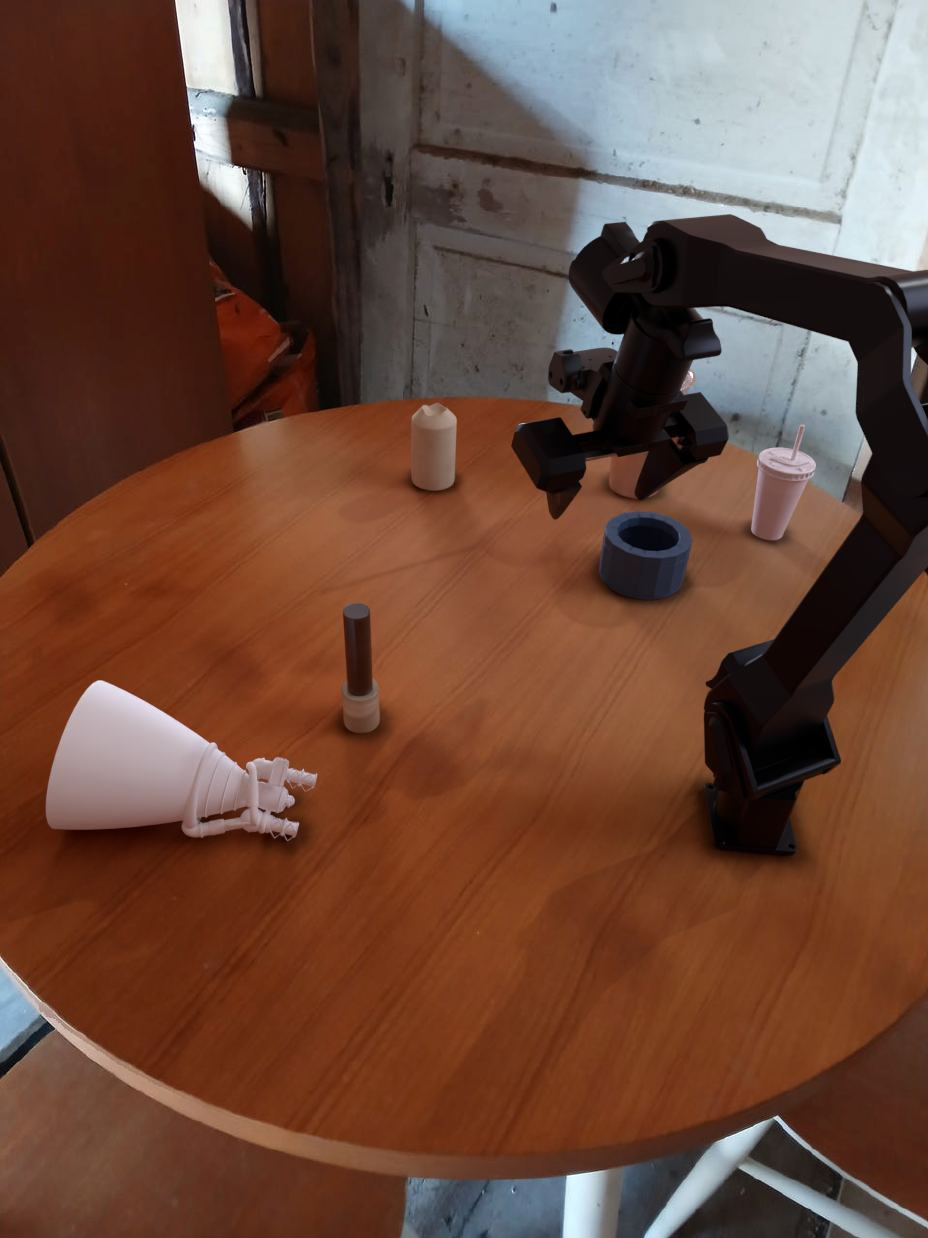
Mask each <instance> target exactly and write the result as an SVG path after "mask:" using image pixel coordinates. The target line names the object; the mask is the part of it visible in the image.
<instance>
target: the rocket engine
mask: <svg viewBox="0 0 928 1238" xmlns="http://www.w3.org/2000/svg"><path fill="white" fill-rule="evenodd" d="M289 765H290V761H289V760H288V759H287V758H283V757H279V756H277V757H276V756H275V758H273V760H268V759H266V758H265V757H262V758H261V757H259V758H255V759H254V760H252V761H248V762H247V763H246V765H245V767H246V769H247V770H248V772H247V770H245V769H242V768H241V767H240V766H239V765H238V762H237V761H233V760H232V759H231V758H230V757H229V756H227V755H226V752H225V751H221V750H220V749H219V748H218V744H217V743H216V742H214V741H213V742H209V741H208V740H206V739H205V738H203V737H202V736H201V735H199V734H198V733H196V732H195V731H193V730H192V729H190V728H189V727H188V726H186V725H185V724H183V723H182V722H180V721H178V720H177V719H175V718H173V716H171V715H169V714H167V713H165V711H162V710H160V709H159V708H157V707H155V706H154V705H152V704H151V703H149V702H147V701H146V700H143V699H141V698H140V697H138V696H136V695H134V694H132V693H130V692H128V691H127V690H124V689H122V688H120V687H119V686H116V685H114V684H112V683H109V682H107V681H105V680H103V679H102V680H101V679H100V680H96V681H93V682H92V683H91V684H90V685H89V686H88V687H87V688H86V689H85V691H84V692H83V694H82V695H81V696H80V698H79V700H78V701H77V703H76V704H75V706H74V707H73V710H72V712H71V714H70V716H69V718H68V720H67V722H66V724H65V727H64V730H63V732H62V734H61V737H60V740H59V742H58V746H57V748H56V751H55V754H54V758H53V762H52V765H51V769H50V773H49V778H48V782H47V788H46V789H47V790H46V795H45V796H46V797H45V818H46V821H47V824H48V826H49V827H50V828H51V829H52V830H67V831H68V830H69V831H74V830H75V831H83V830H84V831H88V830H92V831H93V830H111V829H113V830H115V829H125V828H137V827H147V826H154V825H163V824H169V823H175V822H181V821H182V822H181V830H182V832H183V834H185V835H186V836H188V837H191V838H201V839H203V838H204V837H207V836H218V835H222V834H225V833H226V832H229V831H233V830H239V829H243V830H244V831H246V832H247V833H255V832H258V833H259V834H264V833H265V834H269V833H270V834H271V836H272V838H273V839H276V838H277V837H278V836H280V837H284V839H285V840H286V842H289V841H291V839H295V838H296V837H297V834H298V830H299V826H300V823H299V821H297V822H296V821H291V820H288V817H285V819H281V818H278V817H275V816H274V815H273V814H272V812H274V813H276V814H279V813H282V812H283V811H284V810H285V809H286V807H287V809H289V808H290V807H292V806H293V805H295V802H296V800H295V797H294V796H293V795H289V790H288V789H287V788H286V786H284V785H285V781H286V782H287V783H288V784H289V786H290V787H291V789H292V790H293V789H295V788H296V787H297V786H298V788H300V787H301V789H302V790H303V791H304V793H306V792H308V791H310V790H311V789H312V790H313V789H315V787H316V782H317V779H318V773H317V772H316V773H310V772H307V771H305V768H302V770H298V769H296V768H294V767H291V768H289ZM260 779H263V780H267V782H264V781H259V780H260ZM291 782H292V783H295V784H296V785H294V786H292V784H291ZM303 785H305V786H309V787H310V788H308V789H306V790H305V788H304V786H303ZM244 807H245V808H247V809H245V810H243V811H242V813H241V814H240V817H234V818H228V819H224V818H219V819H213V820H209V821H207V822H203V821H202V818H205V819H207V818H208V817H209V816H214V815H218V814H219V815H223V814H224V813H226V812H230V811H234V812H235V811H236V810H239V809H242V808H244ZM262 810H263V811H262ZM201 821H202V822H201ZM273 832H274V833H275V832H276V833H279V834H278V835H277V834H276V836H274V833H273ZM286 835H288V836H291V837H290V838H289V839H288V838H287V837H286Z"/></svg>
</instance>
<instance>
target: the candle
mask: <svg viewBox="0 0 928 1238" xmlns="http://www.w3.org/2000/svg"><path fill="white" fill-rule="evenodd" d="M457 424H458V421H457V417H456V415H455V414H454V413H453V412H452V411H451V410H449V408H448V407H447V406H443V405H442V403H440V402H435V403H433V404H431V405H428V404H423V405H422V406H420V408H418V410H417V411H416V412H414V414H412V416H411V482H412V484H413V485H415V487H417V488H419V489H421V490H425V491H432V492H435V491H436V492H437V491H443V490H446V489H449V488H450V487H452V486H453V485H454V483H455V480H456V455H457V454H456V452H457V451H456V450H457V427H458V426H457Z"/></svg>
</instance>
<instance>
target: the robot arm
mask: <svg viewBox="0 0 928 1238" xmlns="http://www.w3.org/2000/svg"><path fill="white" fill-rule="evenodd" d="M568 268H569V269H568V274H567V275H568V276H567V277H568V282H569V285H570V287H571V289H572V290H573V292H575V294H576V295H577V296H578V298H579V300H580V301H581V302H582V304H584V306H585V307H586V309H587V310H588V311H589V312H590V314H591V315H592V317H593V318H594V319H595V321H596V322H597V323H598V324H599V326H600V327H601V328H602V330H603V331H605V332H606V333H608V334H610V335H615V336H616V335H618V336H619V335H623V336H622V339H621V341H620V344H619V347H618V350H616V349H614V348H611V347H595V348H589V349H583V350H576V351H574V349H572V348H568V349H562V350H561V349H560V350H555V351H553V354H552V356H551V359H550V362H549V364H548V370H547V371H548V372H547V373H548V374H547V381H548V384H549V386H550V387H551V388H553V389H555V390H556V391H557V392H559V393H560V394H566V393H567V394H568V393H571V394H572V395H573V396H575V397H576V398H578V399H579V400H581V401H582V404H581V406H580V408H579V410H580V412H581V414H583V416H584V417H585V419H586V420H589V419H591V420H592V421H593V423H592V431H591V430H590V431H585V432H581V433H575V434H573V433H572V431H570V429H569V427H568V426H567V424H566V423H565V421H564V419H563V418H562V417H561V416H558V417H552V418H551V417H550V418H546V419H540V420H535V421H530V422H524V423H518V424H517V426H516V428H515V431H514V433H513V435H512V436H513V437H512V441H511V444H510V447H511V449H512V450H513V452H514V454H515V456H516V458H517V459H518V460H519V462H520V463H521V465H522V467H523V468H524V470H525V472H526V473H527V475H528V477H529V479H530V480H531V482H532V484H533V485H534V487H535V488H536V489H537V490H540V491H543V492H544V493H545V495H546V501H547V507H548V513H549V515H550V516H551V518H552V519H553V520H554V521H557V520H558V519H559V518H561V516H562V515H564V513H565V512H566V510H567V509H568V507H569V506H570V505H571V503H572V502H573V500H574V499H575V497H576V496H577V495H578V493H579V492H580V490H581V489H582V488H583V485H582V484H581V482H580V481H581V480H583V478H584V477H585V474H586V471H587V462H590V461H596V460H600V459H605V458H611V456H616V455H617V456H618V457H622V456H627V455H632V454H637V453H642V452H647V451H648V454H647V457H646V459H645V462H644V464H643V467H642V470H641V472H640V475H639V478H638V480H637V484H636V488H635V492H634V493H635V496H636V497H637V499H636V500H638V501H639V502H640V501H641V502H642V501H644V500H645V499H648V498H647V497H648V496H650V495H651V494H653V493H654V492H656V491H657V490H659V491H660V489H662V488H664V487H665V486H667V485H668V484H670V483H671V482H672V481H674V480H676V479H677V478H679V477H681V476H682V475H685V474H686V473H688V472H689V471H691V470H692V469H694V468H696V467H697V466H700V465H701V464H705V463H706V462H708V460H709V458H714V457H717V456H721V455H722V453H723V451H724V449H725V447H726V445H727V444H728V441H729V438H730V434H729V433H730V432H729V426H728V424H727V423H726V422H725V421H724V419H723V418H722V417H721V415H720V414H719V413H718V412H717V410H715V408H714V406H712V404H711V403H710V402H709V401H708V399H707V397H705V395H704V394H703V393H702V392H701V391H698V392H692V393H688V394H686V395H684V394H683V393H682V392H681V388H682V385H683V383H684V381H685V378H686V376H687V374H688V371H689V369H691V367H692V365H693V363H694V361H696V360H703V359H708V358H714V357H719V356H720V355H722V351H723V349H722V345H721V340H720V338H719V336H718V334H717V333H716V331H715V328H714V321H713V319H712V318H710V317H709V318H703V316H702V315H701V314H700V313H699V312H698V311H697V309H699V308H731V309H735V310H737V311H741V312H745V313H749V314H751V315H755V316H759V317H762V318H766V319H769V320H773V321H776V322H778V323H782V324H785V325H789V326H792V327H796V328H799V329H803V330H807V331H809V332H813V333H817V334H820V335H823V336H827V337H830V338H834V339H837V340H841V341H843V342H847V343H848V344H849V347H850V349H851V351H852V354H853V356H854V359H855V360H856V363H857V367H856V368H857V370H856V387H855V388H856V390H855V411H854V412H855V416H856V417H855V418H856V421H857V422H858V425H859V427H860V429H861V431H862V434H863V436H864V438H865V440H866V442H867V445H868V447H869V449H870V451H871V455H870V457H869V458H868V461H867V464H866V466H865V468H864V470H863V473H862V475H861V478H860V488H861V489H860V491H861V501H862V503H861V505H862V512H861V515H860V517H859V519H858V521H857V522H856V523H855V525H854V526H853V528H852V529H851V530H850V532H849V533H848V534H847V536H846V538H845V539H844V540H843V542H842V543H841V545H840V546H839V547H838V548H837V550H836V551H835V553H834V554H833V556H832V557H831V558H830V560H829V561H828V563H827V564H826V565H825V567H824V568H823V570H822V571H821V573H820V574H819V576H818V577H817V578H816V579H815V581H814V583H813V584H812V585H811V587H810V588H809V590H808V591H807V593H806V594H805V595H804V596H803V598H802V599H801V600H800V602H799V603H798V605H797V607H796V608H795V609H794V611H793V612H792V613H791V615H789V618H788V619H787V620H786V622H785V623H784V625H783V626H782V627H781V629H780V630H779V631H778V633H777V634H776V636H775V637H774V639H770V640H767V641H764V642H760V643H756V644H753V645H750V646H747V647H744V648H741V649H737V650H734V651H731V652H728V653H727V654H726V655H725V657H724V658H722V660H721V662H720V664H719V667H718V670H717V672H716V674H715V675H714V676H713V678H711V679H709V680H706V681H705V686H706V687H707V688H709V689H710V690H708V692H707V693H706V696H705V699H704V704H703V710H704V711H703V742H704V764H705V766H706V767H707V768H708V769H709V770H710V772H711V773H712V777H713V778H714V779H713V782H707V783H705V784H704V786H703V794H704V799H705V806H706V811H707V817H708V823H709V828H710V833H711V839H712V844H713V846H714V848H716V849H717V850H718V849H719V850H727V851H740V852H749V853H750V852H752V853H763V854H764V853H765V854H776V855H777V854H778V855H786V856H787V855H790V856H793V855H795V854H796V853H797V852H798V844H797V840H796V836H795V832H794V829H793V825H792V824H793V823H792V821H791V816H792V815H793V811H794V808H795V805H796V803H797V802H798V798H799V796H800V793H801V790H802V788H803V786H804V782H805V781H807V780H810V779H813V778H815V777H818V776H820V775H826V774H829V773H831V772H832V771H833V770H834V769H836V768H837V767H838V766H839V765H841V763H842V759H841V758H842V757H841V755H840V752H839V749H838V746H837V742H836V739H835V737H834V733H833V730H832V727H831V723H830V720H829V717H828V715H829V713H830V711H831V709H832V707H833V705H834V704H835V698H836V697H835V691H834V684H833V680H834V679H835V677H836V676H837V674H838V673H839V672H840V671H841V670H842V669H843V667H844V666H845V665H846V664H847V663H848V661H850V659H851V657H853V655H854V654H855V653H856V652H857V651H858V649H859V648H860V647H861V646H862V645H863V644H864V642H866V640H867V639H868V638H869V636H871V634H872V633H873V632H874V631H875V629H876V628H878V626H879V625H880V624H881V623H882V621H883V620H884V619H885V618H886V616H887V615H888V614H889V613H890V612H891V611H892V609H893V608H895V606H896V605H897V604H898V603H899V601H900V600H901V599H902V597H903V596H904V595H905V594H906V593H907V592H908V590H909V589H910V588H911V587H912V586H913V585H914V584H915V582H916V581H917V580H918V579H919V578H920V576H921V575H922V574H923V573H924V572H925V570H926V569H927V568H928V402H927V403H923V404H922V403H921V401H920V399H919V396H918V394H917V393H916V391H915V388H914V385H913V384H912V349H913V350H914V352H915V353H916V355H917V356H918V357H919V358H920V359H921V360H922V361H923V363H924V364H926V365H927V366H928V269H920V270H909V269H904V268H899V267H894V266H888V265H883V264H878V263H873V262H868V261H864V260H857V259H853V258H849V257H843V256H837V255H833V254H827V253H822V252H818V251H812V250H807V249H802V248H797V247H792V246H787V245H782V244H778V243H776V242H774V241H772V240H770V239H768V238H767V236H766V233H765V232H764V231H763V229H762V228H761V227H760V226H758V225H755V224H753V223H751V222H749V221H747V220H745V219H743V218H740V217H739V216H737V215H735V214H731V213H728V214H718V215H717V214H715V215H705V216H695V217H694V216H693V217H683V218H673V219H661V220H654V221H652V222H651V223H649V224H648V226H647V228H646V232H645V233H644V236H643V239H642V240H641V241H640V240H639V239H638V238H637V236H636V235H635V233H634V231H633V228H631V226H630V225H629V224H628V223H627V222H626V221H620V222H619V221H618V222H607V223H604V224H603V225H602V228H601V232H600V235H599V236H598V237H595V238H593V240H591V241H589V242H588V243H587V244H586V245H585V246H583V248H581V250H580V251H579V252H578V253H577V255H576V257H575V258H574V259H573V260H572V261H571V262H570V265H569V267H568Z"/></svg>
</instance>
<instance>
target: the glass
mask: <svg viewBox="0 0 928 1238" xmlns="http://www.w3.org/2000/svg"><path fill="white" fill-rule="evenodd" d="M696 382H697V375H696V373H695V371H693V370H692V369H691V368H690V369H689V371H688V374H687V376H686V378H685V381H684V383H683V385H682V388H681V392H682V393H683V394H684V395H686V394H689V392H690V389H691V387H693V386H694V385H695V383H696ZM647 454H648V451H647V452H642V453H637V454H632V455H627V456H622V457H618V456H617V455H616V456H611V457H609V459H610V460H609V461H610V462H609V480H608V486H609V488H610V489H611V491H613V492H614V493H615V494H617V495H619V496H620V497H621V496H622V497H623V498H628V499H635V500H638V499H637V497H636V496H635V493H634V492H635V488H636V484H637V480H638V478H639V475H640V472H641V470H642V467H643V464H644V462H645V459H646V457H647ZM659 491H660V489H659V490H657V491H656V492H654V493H653V494H651V495H650V496H648V497H647V498H646V499H649V498H651V497H654V496H656V495H657V494H658V492H659Z"/></svg>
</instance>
